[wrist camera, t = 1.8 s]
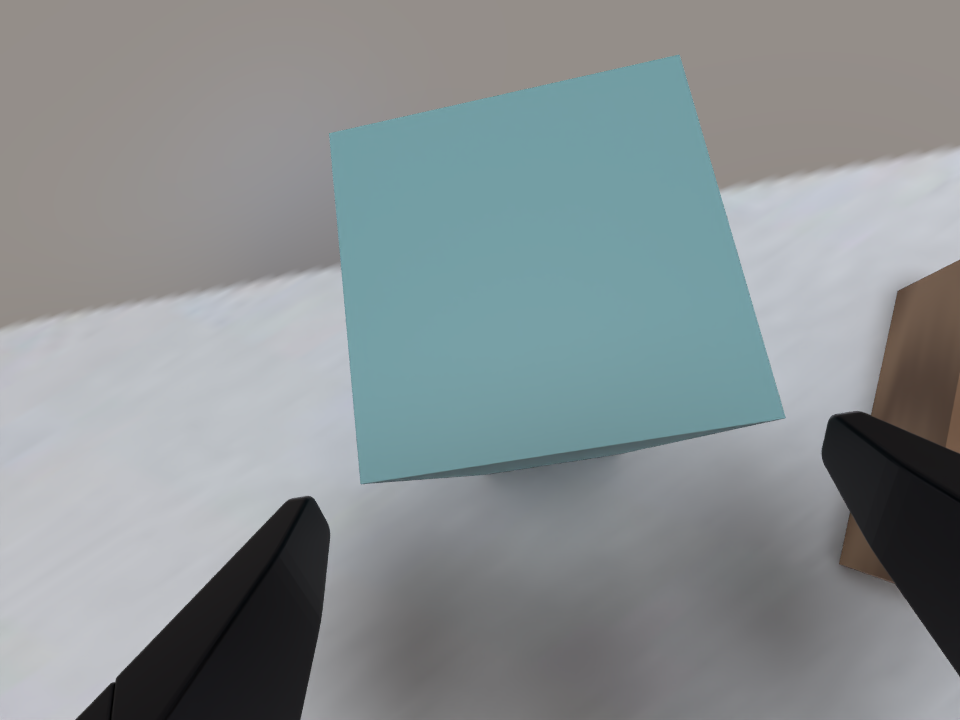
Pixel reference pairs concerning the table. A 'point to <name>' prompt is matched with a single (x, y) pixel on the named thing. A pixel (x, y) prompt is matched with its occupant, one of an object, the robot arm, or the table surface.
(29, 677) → the table surface
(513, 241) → the teal pillar
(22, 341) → the table surface
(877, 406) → the walnut block
